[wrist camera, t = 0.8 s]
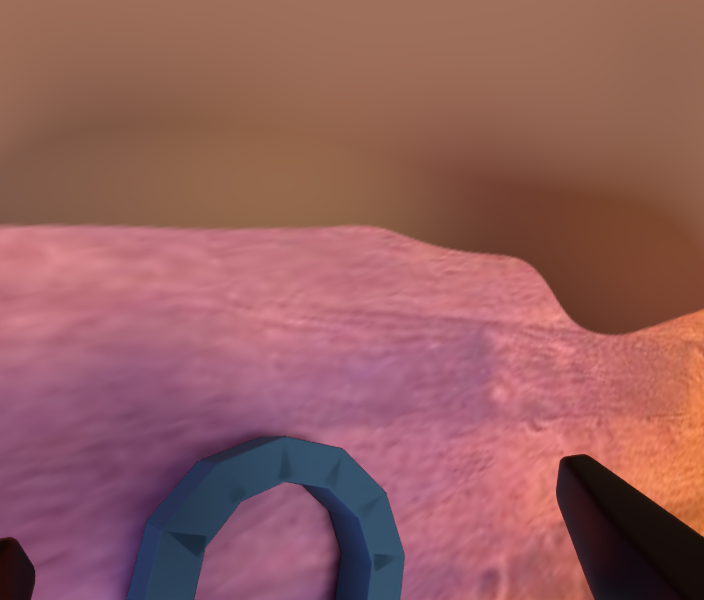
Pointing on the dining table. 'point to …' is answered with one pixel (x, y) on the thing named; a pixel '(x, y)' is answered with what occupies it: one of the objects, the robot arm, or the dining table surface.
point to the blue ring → (251, 479)
